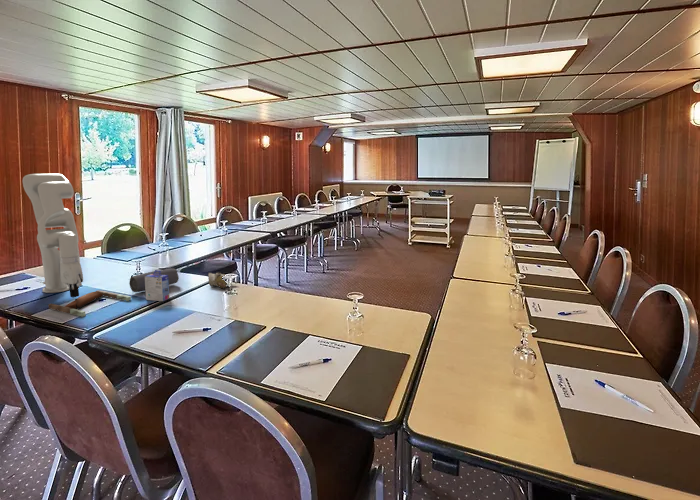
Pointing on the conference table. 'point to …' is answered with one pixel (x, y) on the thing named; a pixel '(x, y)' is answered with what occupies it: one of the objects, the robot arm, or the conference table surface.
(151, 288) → the ink cartridge box
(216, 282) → the ceramic sculpture
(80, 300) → the brown bottle
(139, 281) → the bluetooth speaker
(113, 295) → the beige rail frame
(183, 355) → the conference table surface
